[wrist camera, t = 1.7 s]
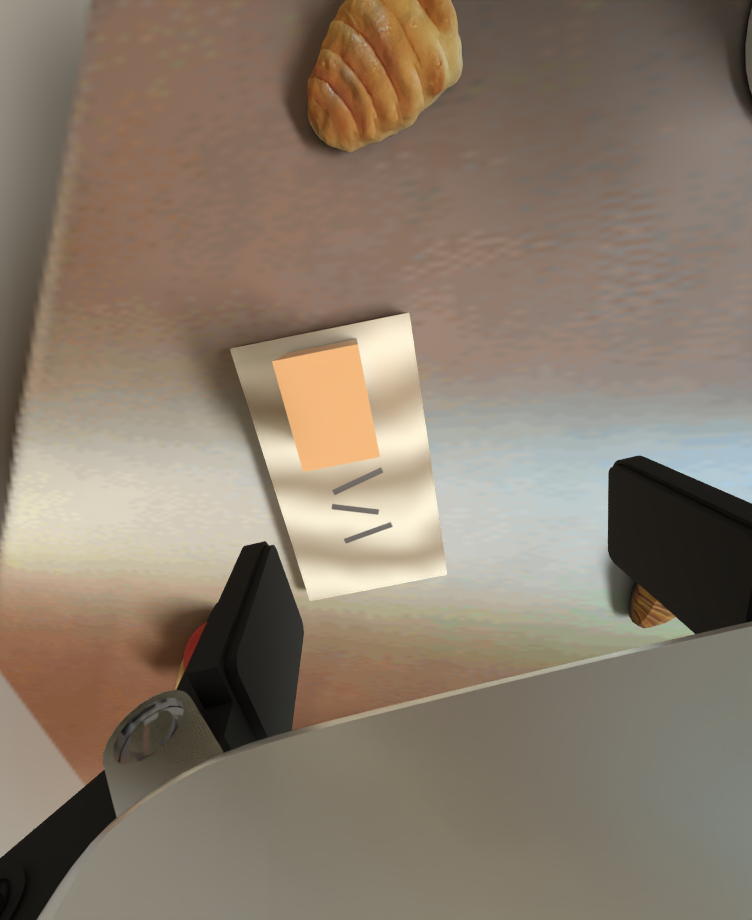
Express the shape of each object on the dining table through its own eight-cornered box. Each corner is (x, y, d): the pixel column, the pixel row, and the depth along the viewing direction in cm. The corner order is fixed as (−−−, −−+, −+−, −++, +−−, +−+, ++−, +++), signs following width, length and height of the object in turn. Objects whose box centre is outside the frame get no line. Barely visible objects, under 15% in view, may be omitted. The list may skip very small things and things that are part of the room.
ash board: (235, 347, 28) (229, 349, 27) (406, 312, 28) (409, 312, 27) (311, 590, 36) (309, 601, 35) (443, 564, 36) (447, 574, 35)
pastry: (352, 190, 25) (352, 169, 22) (281, 90, 23) (268, 48, 20) (466, 78, 24) (486, 35, 20) (399, -41, 22) (408, -113, 18)
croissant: (661, 498, 35) (709, 525, 31) (722, 510, 36) (777, 539, 32) (600, 610, 40) (633, 649, 35) (656, 619, 41) (695, 658, 36)
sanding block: (288, 352, 27) (271, 361, 21) (356, 338, 27) (357, 344, 21) (312, 442, 30) (303, 472, 24) (374, 430, 30) (380, 457, 24)
